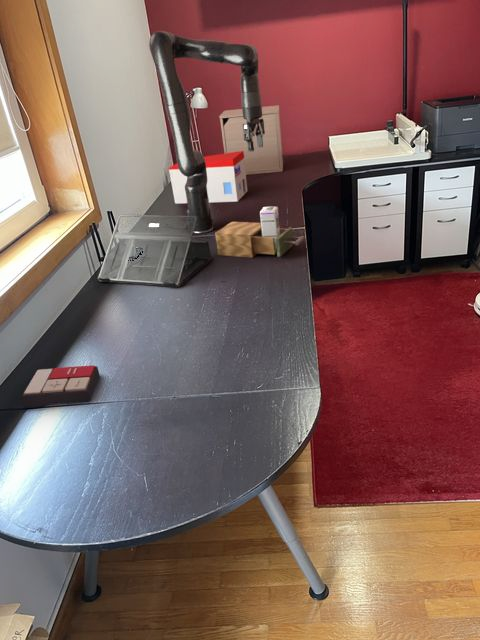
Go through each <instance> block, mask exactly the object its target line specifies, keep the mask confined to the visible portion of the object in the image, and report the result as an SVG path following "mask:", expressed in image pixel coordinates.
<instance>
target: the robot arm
mask: <svg viewBox="0 0 480 640" xmlns="http://www.w3.org/2000/svg"><path fill="white" fill-rule="evenodd" d="M148 43H149V44H148V45H149V50H150V54H151V57H152V61H153V64H154V66H155V69H156V73H157V75H158V80H159V85H160V88H161V93H162V97H163V101H164V102H163V103H164V108H165V112H166V115H167V119H168V122H169V127H170V132H171V135H172V136H171V137H172V139H173V144H174V150H175V158H176V163H177V165H178V168H179V170H180V172H181V173H182V174H183V175H184V176H187V182H186V184H185V192H186V198H187V203H186V204H187V209H186V216H196V217H197V221H196V225H195V228H194V232H193V234H198V235H199V234H200V235H201V234H206V233H210V232H212V231H213V230H214V226H213V222H214V220H213V218H212V214H211V207H210V202H209V199H208V193H207V171H206V163H205V159H204V157H205V156H204V154H203V153H202V152H201V151H200V150H197V149H193V145H192V139H191V130H192V129H191V128H192V113H191V107H190V103H189V99H188V95H187V92H186V91H185V87H184V85H183V84H182V82H181V80H180V78H179V77H180V76H179V75H178V71H177V68H176V62H175V59H195V60H199V61H204V62H209V63H214V64H215V63H216V64H223V65H227V64H228V65H229V64H230V65H233V66H237V67H240V73H241V75H240V79H239V82H240V92H241V93H240V95H241V96H240V97H241V98H240V99H241V100H240V102H241V109H242V111H243V118H244V119H246V120H247V124H243V135H244V141H247V143H248V151H249V152H253V151H254V145H253V137H254V136H255V134H256V136H257V146H258V147H263V139H262V137H263V134H265V129H264V120H263V119H259V118H261V117H262V107H263V106H262V97H261V91H260V81H259V80H260V79H259V54H258V50H257V48H256V47H255V46H254V45H253V44H250V43H230V42H227V41H221V40H214V39H213V40H212V39H193V38H187V37H183V36H179V35H177V34H173V33H171V32H169V31H165V30H164V31H163V30H157V31H155V32H153V33H152V34H151V35H150V38H149V42H148ZM246 135H247V137H246ZM188 218H189V217H187V220H186V222H187V223H186V222H184V229H186V228H187V226H188V221H189V220H190V219H191V220H192V221H189V230H190V231H189V233H190V232H192V231H191V230H192V228H193V226H192V225H194V224H193V223H194V221H195V219H194V218H193V219H192V217H191V218H189V219H188ZM190 222H191V223H192V224H191V223H190ZM165 224H166V225H167V226H166V225H165ZM165 224H164V227H168V223H165ZM185 224H186V225H187V226H186V225H185ZM190 225H191V226H190ZM169 226H170V227H169V228H170V229H176V230H182V229H183V227H182V226H179V228H180V229H178V226H177V225H174V227H175V228H173V225H172V224H169ZM171 226H172V227H171ZM176 227H177V228H176ZM185 227H186V228H185ZM181 228H182V229H181Z"/></svg>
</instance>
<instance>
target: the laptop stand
mask: <svg viewBox="0 0 480 640" xmlns="http://www.w3.org/2000/svg"><path fill="white" fill-rule="evenodd" d="M188 217H189V218H191V217H192V219H193V218H194V219H195V221H194V223H193V224H194V225H192V226H193V228H192V230H191V231H192V232H190V228H189V221H192V220H191V219H190V220H189V221H188V219H189V218H188ZM121 218H122V219H121ZM187 221H188V224H187V225H186V224H185V223H187ZM196 221H197V217H196V216H187V215H177V214H176V215H173V214H172V215H171V214H170V215H169V214H168V215H167V214H165V215H164V214H120V215H118V217H117V219H116V222H115V227H114V229H113V231H112V234H111V237H110V241H109V244H108V247H107V250H106V253H105V256H104V259H103V262H102V264H101V268H100V271H99V273H98V277H96V278H97V280H98V282H103V283H116V284H129V285H130V284H132V285H146V286H157V287H158V286H160V287H171V288H180V287H182V285H184V283H186V282H187V281H188V280H189V279H190V278H192V277H193V276H194V275H195V274H196V273H197V272H199V271H200V270H202V268H204V266H206V265H207V264H208V263H209V262H210V261H211V260H212V253H211V249H210V244H209V240H208V241H207V240H193V236H194V233H193V232H194V228H195V225H196ZM190 223H191V222H190ZM166 224H168V226H167V225H166ZM184 224H185V225H186V227H185V228H184ZM191 224H192V223H191ZM165 225H166V226H165ZM169 225H172V226H173V228H171V227H172V226H171V227H170V226H169ZM174 226H177V227H178V229H177V227H176V228H175V227H174ZM190 226H191V225H190ZM179 227H183V229H182V228H181V229H180V228H179ZM136 247H138V248H139V247H140V248H143V250H142V251H143V253H142V251H141V250H140V249H137V250H138V252H137V253H140V252H139V250H140V251H141V254H142V255H139V254H138V255H139V257H138V258H137V256H138V255H137V253H136ZM135 254H136V258H137V259H133V260H134V261H132V258H131V261H130V259H129V257H132V256H133V257H134V256H135ZM134 258H135V257H134ZM128 260H129V261H128Z"/></svg>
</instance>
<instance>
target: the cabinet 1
mask: <svg viewBox="0 0 480 640" xmlns="http://www.w3.org/2000/svg"><path fill="white" fill-rule="evenodd" d="M280 115H281V114H280V105H279V104H277V105H268V106H262V117H261V118H259V119H263V120H264V129H265V134H263V137H262V139H263V147H258V146H257V136H256V134H255V136H254V137H253V145H254V151H253V152H249V151H248V143H247V141H244V135H243V124H247V120H246V119H244V118H243V111H242V108H237V109H227V110H223V112H222V113H220V115H219V116H218V118H219V121H220V122H219V123H220V129H221V137H222V145H223V146H222V147H223V152H224V153H223V154H226V153H233V152H240V151H244V163H245V173H246V176H248V175H258V174H268V173H269V174H270V173H282V172H283V171H284V160H283V146H282V145H283V144H282V130H281V117H280ZM246 137H247V135H246Z"/></svg>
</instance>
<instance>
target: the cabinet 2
mask: <svg viewBox="0 0 480 640" xmlns="http://www.w3.org/2000/svg"><path fill="white" fill-rule="evenodd" d="M261 229H262V227H261V222H247V221H231V222H229V223H228V224H226V225H225V226H223V227H222V228H220V229H218V230H217V231H215V233H214V234H215V235H214V236H215V243H216V248H217V249H216V250H217V255H218V256H224V257H225V256H227V257H236V258H237V257H238V258H248V259H249V258H254V257H256V256H257V255H258V254H259V253H253V247H252V238H251V236H253V235H254V234H255V233H257V232H258V231H259V230H261Z"/></svg>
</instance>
